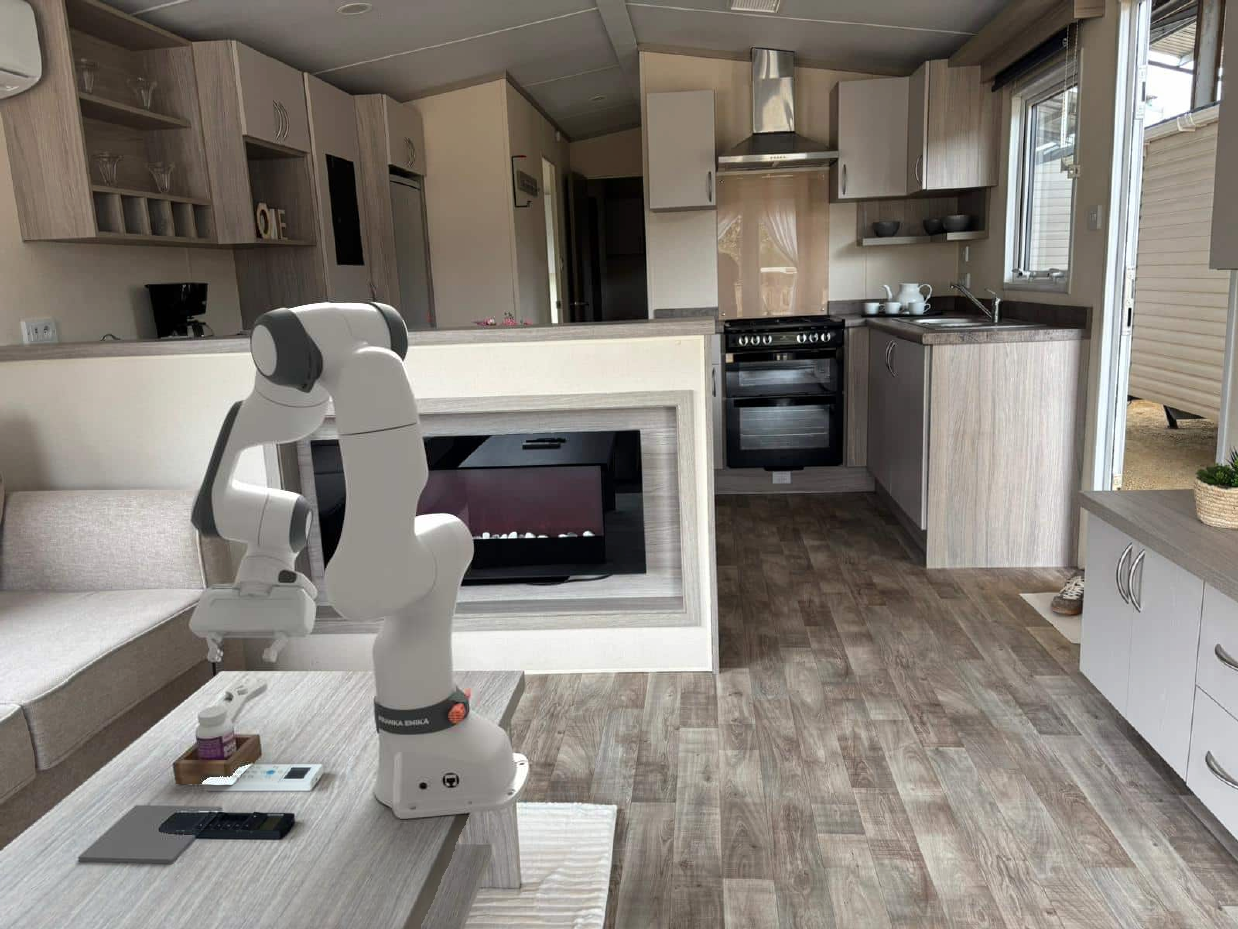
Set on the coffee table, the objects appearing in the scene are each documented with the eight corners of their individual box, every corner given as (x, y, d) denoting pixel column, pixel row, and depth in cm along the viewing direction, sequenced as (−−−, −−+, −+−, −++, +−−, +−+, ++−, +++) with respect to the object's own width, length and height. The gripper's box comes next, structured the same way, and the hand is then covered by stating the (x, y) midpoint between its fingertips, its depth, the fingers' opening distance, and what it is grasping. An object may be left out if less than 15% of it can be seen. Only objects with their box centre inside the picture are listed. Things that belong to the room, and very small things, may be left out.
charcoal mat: (222, 810, 128) (221, 806, 128) (172, 863, 117) (171, 859, 116) (136, 809, 130) (135, 805, 130) (78, 861, 118) (78, 857, 118)
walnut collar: (262, 754, 144) (259, 734, 143) (232, 785, 135) (229, 764, 134) (208, 754, 145) (205, 734, 144) (175, 784, 136) (172, 763, 135)
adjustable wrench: (217, 752, 146) (216, 742, 146) (177, 755, 146) (176, 745, 146) (272, 684, 171) (270, 676, 170) (237, 686, 171) (236, 678, 170)
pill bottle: (235, 775, 138) (227, 716, 136) (197, 781, 137) (189, 722, 135) (241, 758, 143) (233, 701, 141) (205, 763, 142) (196, 706, 140)
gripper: (196, 575, 153) (170, 653, 145) (312, 574, 150) (292, 653, 143) (214, 592, 158) (190, 668, 150) (326, 591, 156) (307, 668, 148)
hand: (240, 660), depth 146 cm, fingers open, 8 cm apart
